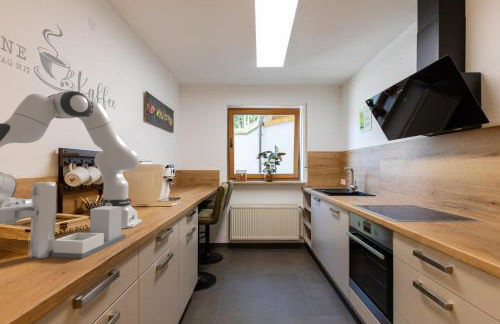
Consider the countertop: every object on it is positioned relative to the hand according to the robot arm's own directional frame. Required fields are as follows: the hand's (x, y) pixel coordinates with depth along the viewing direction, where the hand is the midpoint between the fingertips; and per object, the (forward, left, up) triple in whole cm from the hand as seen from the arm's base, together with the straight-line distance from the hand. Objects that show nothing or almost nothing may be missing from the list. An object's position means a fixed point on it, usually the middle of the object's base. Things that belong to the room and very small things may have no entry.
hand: (46, 211), depth 86 cm
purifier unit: (-12, +9, -15) cm, 21 cm away
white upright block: (0, -1, -15) cm, 15 cm away
